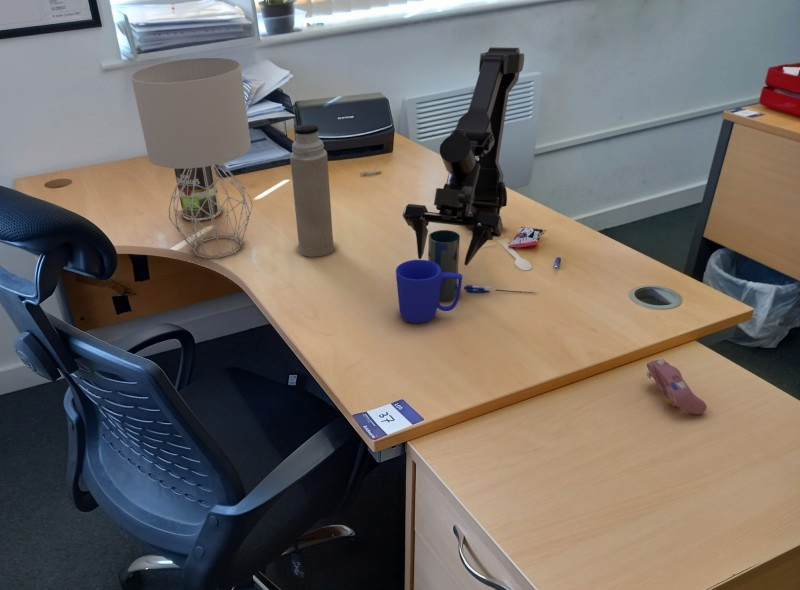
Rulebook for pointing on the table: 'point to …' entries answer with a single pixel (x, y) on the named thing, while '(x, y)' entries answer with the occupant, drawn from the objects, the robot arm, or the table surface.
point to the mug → (422, 290)
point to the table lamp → (195, 125)
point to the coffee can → (198, 192)
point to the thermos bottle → (311, 192)
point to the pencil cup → (445, 259)
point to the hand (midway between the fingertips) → (442, 261)
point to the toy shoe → (675, 387)
